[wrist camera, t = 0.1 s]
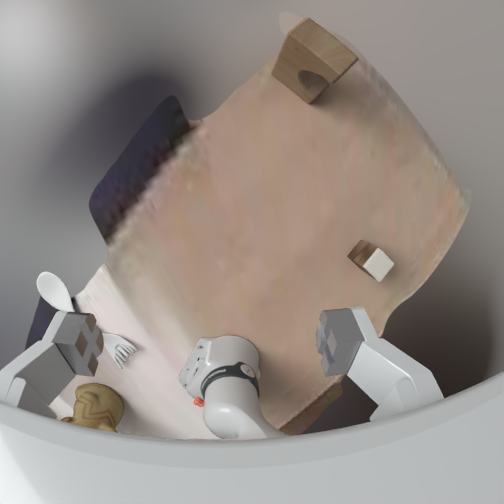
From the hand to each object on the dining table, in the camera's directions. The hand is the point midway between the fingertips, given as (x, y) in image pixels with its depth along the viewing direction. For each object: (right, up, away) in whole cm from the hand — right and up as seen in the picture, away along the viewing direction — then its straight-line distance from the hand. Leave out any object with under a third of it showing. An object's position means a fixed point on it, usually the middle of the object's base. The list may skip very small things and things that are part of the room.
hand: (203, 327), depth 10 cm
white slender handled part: (-41, -13, +54) cm, 69 cm away
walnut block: (+27, +2, +55) cm, 62 cm away
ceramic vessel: (-43, -41, +61) cm, 85 cm away
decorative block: (+11, +40, +45) cm, 61 cm away
